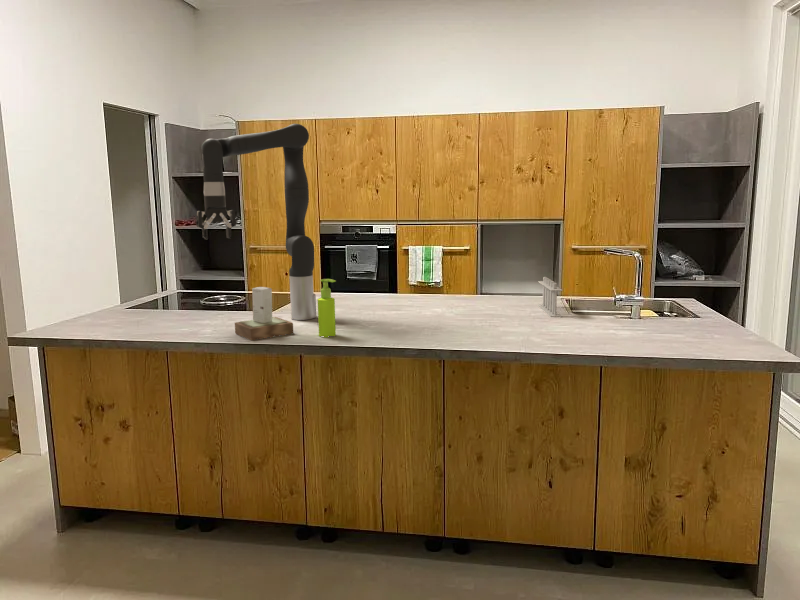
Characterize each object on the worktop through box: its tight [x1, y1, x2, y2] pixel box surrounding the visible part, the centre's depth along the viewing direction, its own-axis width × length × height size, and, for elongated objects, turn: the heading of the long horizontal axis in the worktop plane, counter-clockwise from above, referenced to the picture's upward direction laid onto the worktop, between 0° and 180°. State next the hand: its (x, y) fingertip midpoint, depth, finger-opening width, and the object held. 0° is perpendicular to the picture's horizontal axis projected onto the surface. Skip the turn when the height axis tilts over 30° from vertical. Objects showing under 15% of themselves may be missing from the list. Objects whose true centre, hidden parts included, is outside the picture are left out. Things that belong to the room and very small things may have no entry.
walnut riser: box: [234, 316, 294, 341], centre depth 220 cm, size 16×14×4 cm
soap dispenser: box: [317, 278, 337, 338], centre depth 214 cm, size 6×7×20 cm
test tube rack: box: [537, 276, 563, 318], centre depth 252 cm, size 25×4×13 cm, turn 179°
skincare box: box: [251, 286, 273, 323], centre depth 219 cm, size 6×4×12 cm
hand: (217, 238), depth 230 cm, fingers open, 8 cm apart
